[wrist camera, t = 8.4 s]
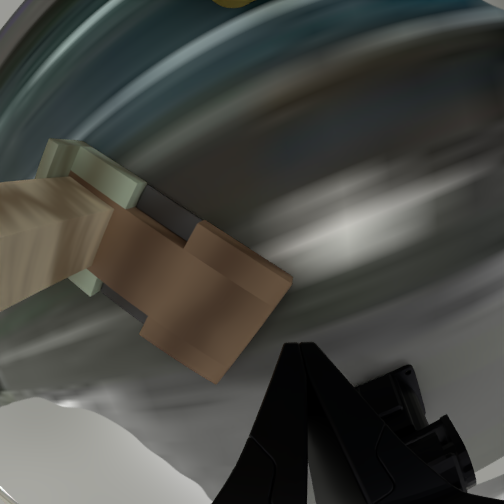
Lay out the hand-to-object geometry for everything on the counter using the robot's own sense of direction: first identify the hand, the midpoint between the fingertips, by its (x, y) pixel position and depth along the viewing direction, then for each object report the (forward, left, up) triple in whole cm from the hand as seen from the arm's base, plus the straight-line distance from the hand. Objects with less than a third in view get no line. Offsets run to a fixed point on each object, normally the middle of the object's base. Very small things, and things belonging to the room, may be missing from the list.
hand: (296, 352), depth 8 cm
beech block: (+9, +13, -11) cm, 19 cm away
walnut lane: (+4, +10, -12) cm, 16 cm away
